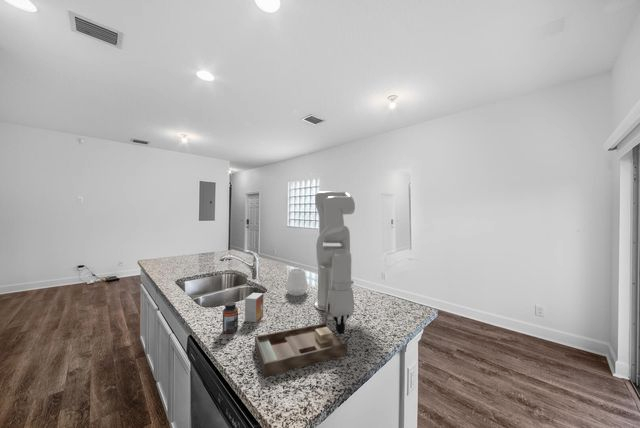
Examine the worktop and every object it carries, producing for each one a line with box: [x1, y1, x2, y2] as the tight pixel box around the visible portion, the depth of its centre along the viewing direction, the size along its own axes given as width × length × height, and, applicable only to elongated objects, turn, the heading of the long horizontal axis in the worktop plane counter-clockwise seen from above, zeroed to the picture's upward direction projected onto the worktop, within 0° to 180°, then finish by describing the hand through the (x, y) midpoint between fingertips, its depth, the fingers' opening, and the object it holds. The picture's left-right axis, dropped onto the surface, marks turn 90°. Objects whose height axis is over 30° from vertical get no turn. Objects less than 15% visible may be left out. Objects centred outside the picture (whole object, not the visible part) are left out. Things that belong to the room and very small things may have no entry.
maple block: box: [315, 326, 334, 344], centre depth 91 cm, size 5×5×3 cm
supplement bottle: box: [222, 301, 239, 334], centre depth 102 cm, size 6×6×11 cm
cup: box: [285, 268, 309, 297], centre depth 148 cm, size 13×13×14 cm
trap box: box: [254, 322, 348, 378], centre depth 88 cm, size 29×17×4 cm, turn 114°
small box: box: [244, 292, 264, 323], centre depth 113 cm, size 8×6×10 cm
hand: (340, 332), depth 94 cm, fingers closed
